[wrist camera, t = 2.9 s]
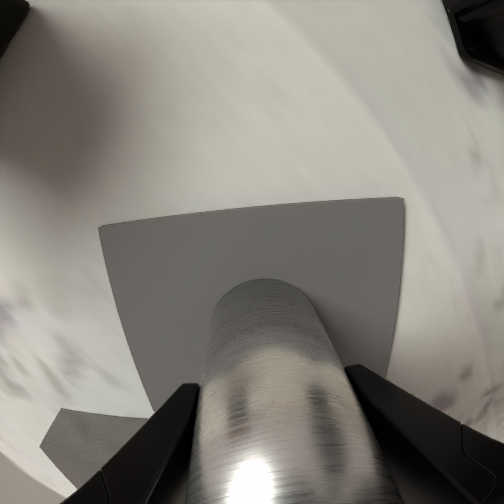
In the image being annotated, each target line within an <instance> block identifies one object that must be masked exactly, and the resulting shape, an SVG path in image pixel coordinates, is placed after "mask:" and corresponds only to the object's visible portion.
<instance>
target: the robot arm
mask: <svg viewBox="0 0 504 504" xmlns="http://www.w3.org/2000/svg"><path fill="white" fill-rule="evenodd" d="M442 1H443V3H444V6H445V9H446V12H447V15H448V18H449V21H450V24H451V27H452V31H453V34H454V37H455V41H456V45H457V48H458V51H459V53H460V54H461V56H462V57H463V58H464V59H466V60H468V61H470V62H473V63H476V64H478V65H481V66H483V67H486V68H488V69H491V70H493V71H496V72H498V73H500V74H502V75H504V0H442ZM344 370H345V372H346V374H347V376H348V379H349V381H350V383H351V385H352V387H353V389H354V391H355V393H356V395H357V398H358V400H359V402H360V404H361V406H362V408H363V410H364V413H365V415H366V417H367V419H368V421H369V424H370V426H371V428H372V430H373V432H374V435H375V437H376V439H377V441H378V443H379V446H380V448H381V450H382V452H383V455H384V457H385V459H386V461H387V464H388V466H389V468H390V471H391V473H392V475H393V477H394V480H395V482H396V484H397V487H398V489H399V492H400V494H401V496H402V499H403V501H404V503H405V504H504V443H502V442H499V441H497V440H495V439H492V438H490V437H488V436H486V435H484V434H482V433H480V432H478V431H476V430H474V429H472V428H470V427H468V426H467V425H465V424H462V425H461V422H459V421H457V420H455V419H454V418H452V417H450V416H448V415H447V414H445V413H443V412H441V411H439V410H438V409H436V408H434V407H432V406H431V405H429V404H427V403H425V402H424V401H422V400H420V399H419V398H417V397H415V396H413V395H412V394H410V393H408V392H407V391H405V390H403V389H402V388H400V387H398V386H396V385H395V384H393V383H391V382H390V381H388V380H386V379H385V378H383V377H381V376H380V375H378V374H377V373H375V372H373V371H372V370H370V369H368V368H367V367H365V366H363V365H362V364H353V365H348V366H346V367H344ZM199 391H200V386H199V384H198V383H183V384H181V385H180V386H179V388H178V389H177V390H176V391H175V392H174V393H173V394H172V395H171V396H170V397H169V398H168V399H167V400H166V401H165V403H164V404H163V405H162V406H161V407H160V408H159V409H158V410H157V411H156V412H155V413H154V414H153V415H152V416H151V417H150V418H149V419H148V420H147V422H146V423H145V424H144V425H143V426H142V427H141V428H140V429H139V430H138V431H137V432H136V433H135V434H134V435H133V436H132V437H131V438H130V439H129V440H128V441H127V442H126V443H125V444H124V445H123V446H122V447H121V448H120V449H119V450H118V451H117V452H116V453H115V454H114V455H113V456H112V457H111V458H110V459H109V460H108V461H107V462H106V463H105V464H104V465H103V466H102V467H101V471H100V470H98V471H97V472H96V473H95V474H94V475H93V476H92V477H91V478H90V479H89V480H88V481H87V482H86V483H84V484H83V485H82V486H81V487H80V488H79V489H78V490H77V491H75V492H74V493H73V494H72V495H70V496H69V497H68V498H67V499H65V500H64V501H63V502H61V503H60V504H185V499H186V490H187V481H188V473H189V465H190V457H191V449H192V441H193V434H194V426H195V419H196V412H197V405H198V398H199Z"/></svg>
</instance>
